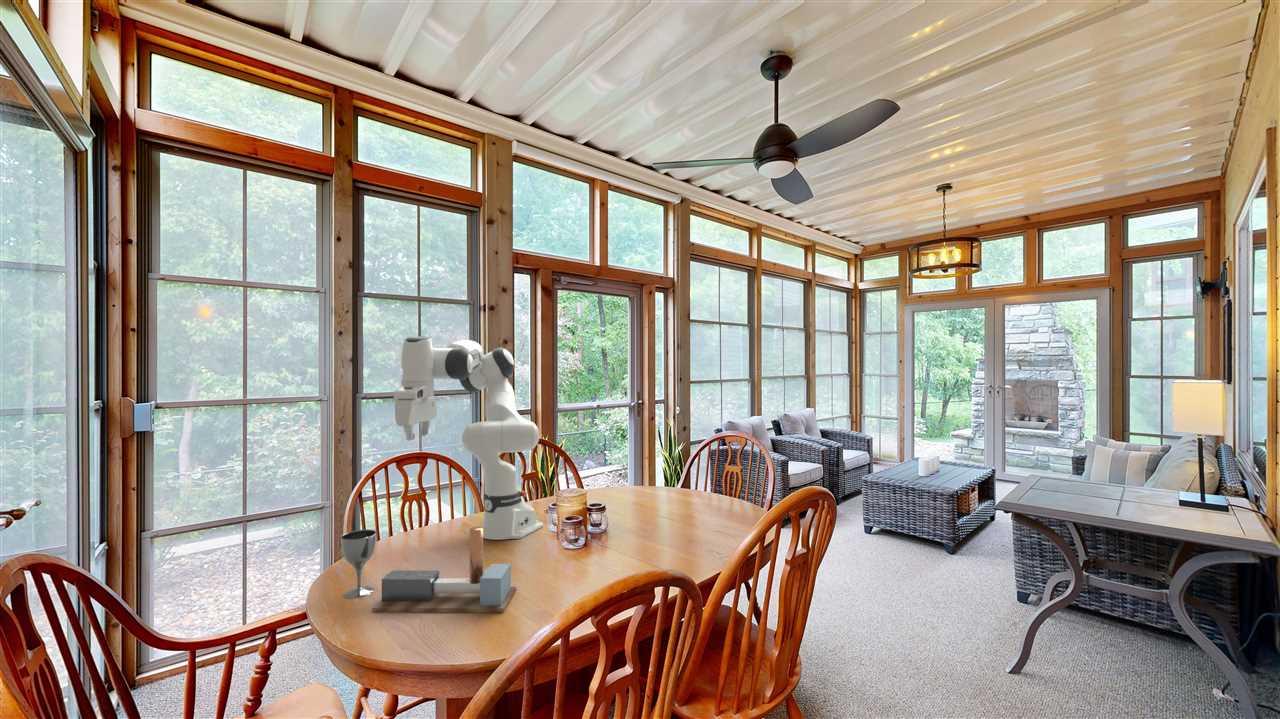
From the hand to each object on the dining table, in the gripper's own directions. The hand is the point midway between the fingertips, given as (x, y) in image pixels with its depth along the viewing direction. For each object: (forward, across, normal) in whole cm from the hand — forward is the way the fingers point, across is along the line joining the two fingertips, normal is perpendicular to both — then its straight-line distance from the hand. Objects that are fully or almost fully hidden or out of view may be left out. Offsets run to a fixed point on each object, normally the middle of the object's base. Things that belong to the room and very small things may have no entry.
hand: (417, 437), depth 155 cm
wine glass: (+37, +19, -7) cm, 43 cm away
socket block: (+36, +24, +30) cm, 53 cm away
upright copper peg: (+35, +24, +21) cm, 47 cm away
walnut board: (+37, +24, +18) cm, 48 cm away
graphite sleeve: (+36, +24, +9) cm, 44 cm away
